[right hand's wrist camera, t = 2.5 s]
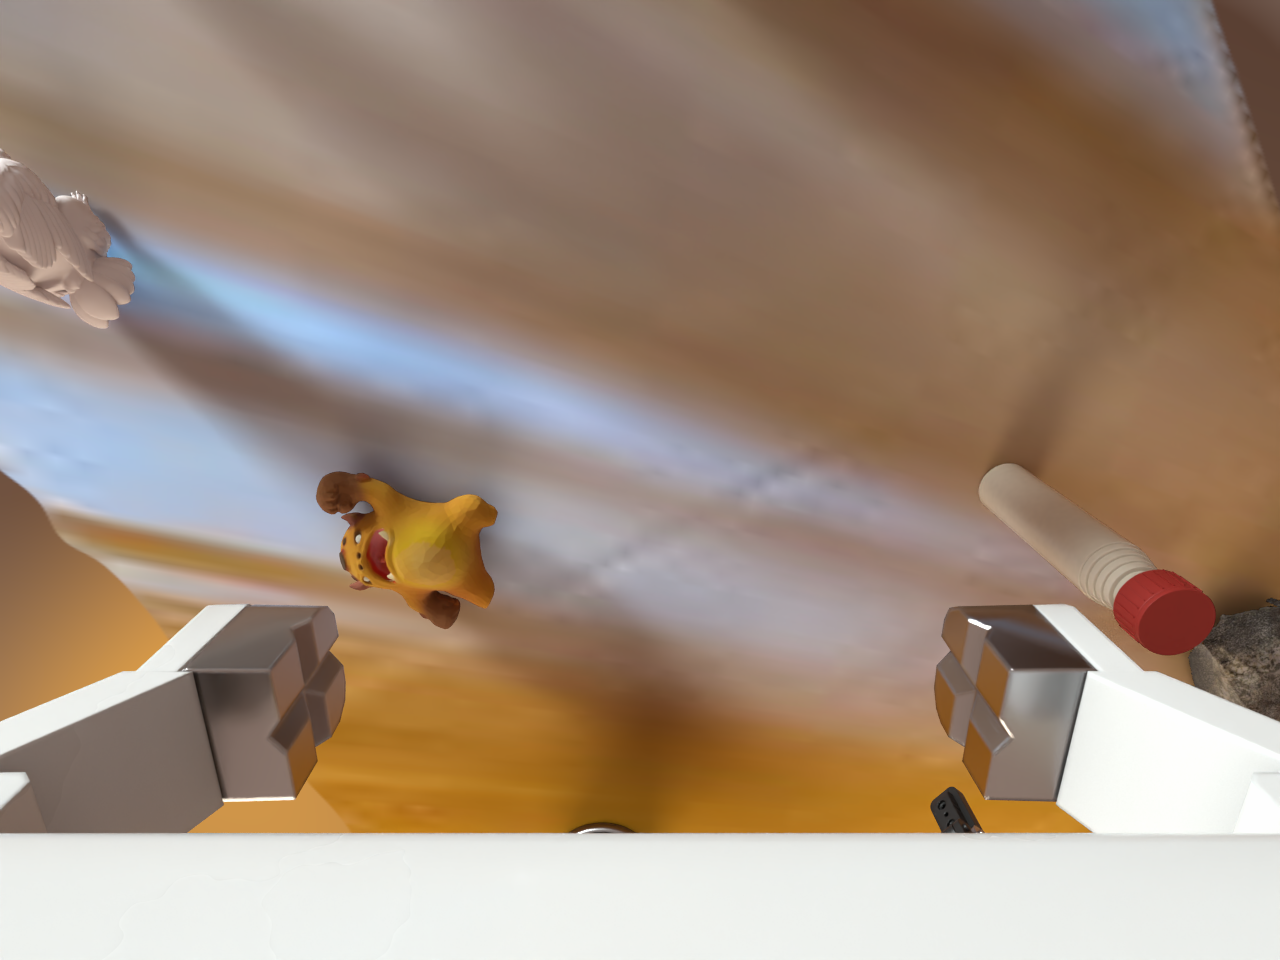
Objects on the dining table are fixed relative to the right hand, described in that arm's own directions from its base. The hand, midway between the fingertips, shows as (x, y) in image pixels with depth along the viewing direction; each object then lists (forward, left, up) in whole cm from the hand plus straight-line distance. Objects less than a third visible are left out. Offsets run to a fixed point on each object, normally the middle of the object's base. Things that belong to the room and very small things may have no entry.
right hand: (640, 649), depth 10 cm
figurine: (-4, -41, -48) cm, 63 cm away
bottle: (+16, +29, -48) cm, 58 cm away
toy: (+19, -18, -48) cm, 55 cm away
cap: (+16, +29, -28) cm, 43 cm away
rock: (+31, +51, -48) cm, 77 cm away
